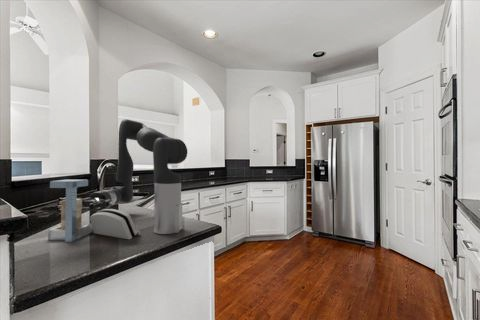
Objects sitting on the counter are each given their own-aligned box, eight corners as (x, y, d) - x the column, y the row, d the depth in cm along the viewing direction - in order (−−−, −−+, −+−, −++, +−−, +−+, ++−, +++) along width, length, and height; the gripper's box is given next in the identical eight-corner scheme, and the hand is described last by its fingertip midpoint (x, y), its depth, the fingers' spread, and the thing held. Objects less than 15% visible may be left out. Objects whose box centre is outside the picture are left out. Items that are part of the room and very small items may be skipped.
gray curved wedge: (141, 235, 81) (133, 208, 78) (130, 243, 77) (122, 216, 74) (106, 229, 88) (97, 204, 85) (94, 237, 84) (85, 211, 81)
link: (81, 234, 82) (81, 198, 82) (73, 237, 78) (74, 200, 78) (69, 234, 82) (69, 198, 82) (60, 237, 78) (61, 200, 78)
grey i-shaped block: (92, 232, 84) (92, 179, 84) (71, 242, 74) (72, 181, 74) (67, 232, 84) (68, 178, 84) (42, 242, 73) (44, 181, 74)
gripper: (85, 190, 99) (56, 196, 83) (120, 190, 99) (98, 196, 83) (85, 208, 99) (56, 218, 83) (120, 209, 99) (98, 218, 83)
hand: (77, 207), depth 83 cm, fingers open, 8 cm apart
